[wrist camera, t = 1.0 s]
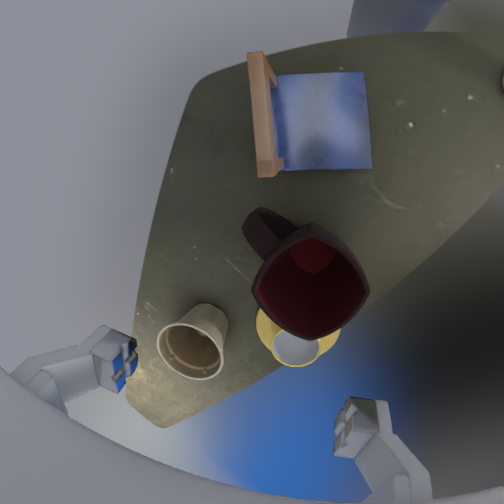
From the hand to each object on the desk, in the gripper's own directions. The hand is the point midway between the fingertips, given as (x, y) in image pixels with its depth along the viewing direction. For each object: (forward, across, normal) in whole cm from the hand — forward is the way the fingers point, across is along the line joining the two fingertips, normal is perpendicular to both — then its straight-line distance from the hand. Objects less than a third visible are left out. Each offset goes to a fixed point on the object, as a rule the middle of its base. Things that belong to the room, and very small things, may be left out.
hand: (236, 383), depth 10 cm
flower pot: (+29, +9, +20) cm, 36 cm away
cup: (+28, -4, +16) cm, 33 cm away
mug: (+29, -2, +4) cm, 30 cm away
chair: (+30, -1, -10) cm, 32 cm away
